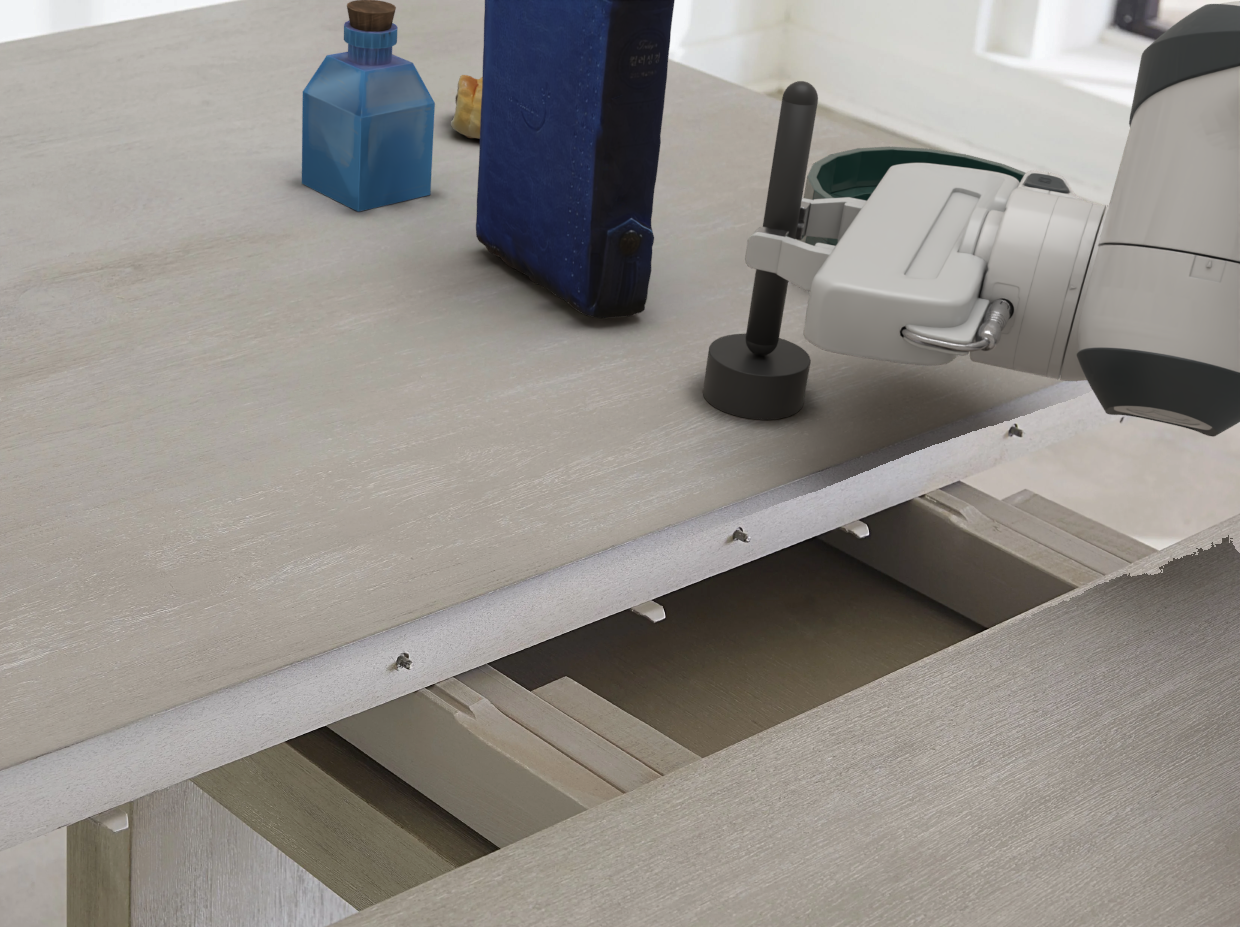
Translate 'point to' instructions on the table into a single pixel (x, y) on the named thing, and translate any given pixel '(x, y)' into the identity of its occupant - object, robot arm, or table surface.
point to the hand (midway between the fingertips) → (762, 229)
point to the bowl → (879, 172)
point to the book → (573, 144)
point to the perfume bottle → (368, 118)
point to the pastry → (468, 107)
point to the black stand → (769, 290)
